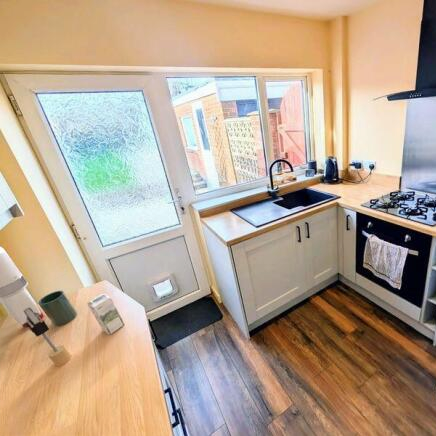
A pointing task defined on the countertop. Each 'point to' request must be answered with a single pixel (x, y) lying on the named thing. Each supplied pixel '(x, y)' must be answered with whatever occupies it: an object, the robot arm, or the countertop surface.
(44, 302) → the dark green mug
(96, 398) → the countertop surface
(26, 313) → the robot arm
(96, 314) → the syrup box
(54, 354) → the bottle brush
